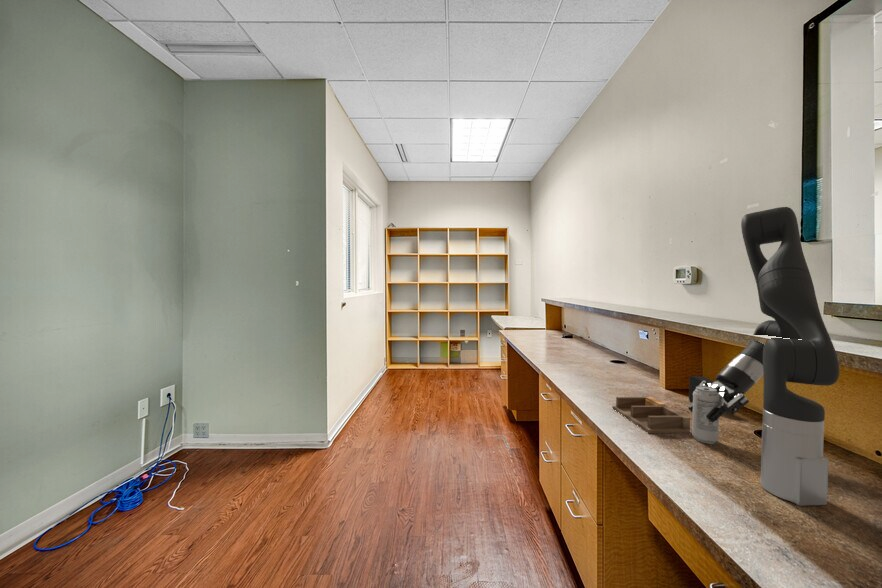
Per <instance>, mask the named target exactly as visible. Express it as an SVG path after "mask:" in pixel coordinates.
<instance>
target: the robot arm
mask: <svg viewBox="0 0 882 588" xmlns="http://www.w3.org/2000/svg"><path fill="white" fill-rule="evenodd" d="M740 227H741V234H742V239H743V243H744V246H745V251H746V253H747V257H748V261H749V264H750V268H751V271H752V274H753V275H754V279H755V280H754V281H755V283H756V288H757V294H758V299H759V300H758V301H759V308H760V311H761V313H762V314H764V315H765V316H767V317H770V318H772V319H774V320H772V319H769V320H765V321H762V322H761V323H760V324H758V326H757V327H756V328H755V330H754V332H753V334H752V336H753V335H768V336H776V337H782V338H771V339H769V340H767V341H766V343H765V345H764V344H762V343H760V342H758V341H755V340H753V339H752V340H751V339H750V341H749V343H748V345H747V346H746V347H745V348H743V350H742V351H741V352H739V354H738V355H737V356H735V357H734V358H733V359H731V361H729V362H728V364H726V365H725V367H724V368H722V369H721V371H720V372H718V373H717V374H716V376H715V378H716V380H714V381H715V382H713V383H711V384H709V383H707V382H706V381H702V382H701V383H700V385H699V386H706V387H711V388H715V389H717V393H718V394H719V402H718V404H717V408H716V407H715V408H714V409H713V410H712V411H711V412H710V413H709V414H708V415H707V416H706V417H707V419H708V420H709V421H711V422H714V421H716V420H717V419H718V418H719V419H720V417H722V415H725V414H729V415H731V416H733V415H734V414H736V413H737V412H738V411H739V410H741V409H742V408H743V407H745V406H746V405H747V404H748V403H750V400H749V399H748V398H747V397H746V395H745V394H746V393H747V392H749V391H750V390H751V388H752V387H753V386H754V385H756V383H757V382H758V381H759V380H760V379H761V378H762V377H763V392H762V394H763V401H762V402H763V403H762V404H763V405H762V406H763V407H762V425H761V427H762V428H761V429H762V431H761V454H760V456H761V457H760V459H761V460H760V486H761V487H762V488H763V489H764V490H765V491H767V492H768V493H770V494H771V495H774V496H775V497H778V498H780V499H782V500H785V501H789V502H791V503H793V504H795V505H797V506H799V507H800V506H802V507H805V506H827V504H828V487H829V485H828V484H829V483H828V482H829V462H830V460H829V459H828V458H826V457H824V439H825V438H824V433H825V420H826V419H825V417H826V416H825V415H826V411H825V407H824V406H823V405H822V404H820V403H819V402H817V401H815V400H813V399H810V398H806V397H804V396H801V395H799V394H797V393H795V392H793V391H791V390H790V389H789V388H788V387H787V383H795V384H803V385H813V386H832V385H834V384H836V383H837V381H838V379H839V376H840V363H839V357H838V354H837V352H836V349H835V345H834V344H833V340H832V339H831V337H830V334H829V331H828V329H827V327H826V324H825V322H824V320H823V317H822V314H821V311H820V307H819V303H818V299H817V295H816V291H815V287H814V282H813V279H812V276H811V275H812V274H811V272H810V270H809V267H808V263H807V262H806V258H805V254H804V252H803V247H802V242H801V236H800V235H801V234H800V229H799V223H798V219H797V216H796V213H795V211H794V210H793V209H792V208H791V207H790V206H780V207H775V208H770V209H764V210H759V211H755V212H750V213H746V214H744V215H743V216H742V218H741V225H740ZM780 242H781V243H780ZM773 243H780V245H779V247H778V248H777V250H776V251H775V253H773V255H772V256H770V258H769V259H767V257H765V256H764V254H763V251H762V249H761V245H767V244H773ZM783 338H790V339H783ZM798 339H802V340H798ZM692 395H693V394H692ZM687 408H688V410H689V412H691V413H692V414H693V402H692V403H691V402H690V404H689V406H688V407H687Z"/></svg>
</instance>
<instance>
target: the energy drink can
mask: <svg viewBox="0 0 882 588" xmlns="http://www.w3.org/2000/svg"><path fill="white" fill-rule="evenodd" d="M718 402H719V394H718V393H717V389H715V388H711V387H706V386H696V389H695V391H694V392H693V413H692V419H691V420H692V421H691V422H692V423H691V425H692V426H691V429H692V430H691V433H692V434H691V435H692V437H694V439H695V440H696V441H698V442H700V443H703V444H708V445H715V444H716V442H718V441H719V427H720V425H719V423H720V417H719V418H718V419H717V420H716V421H714V422H711V421H709V420H708V419H707V417H706V416H707V415H708V414H709V413H710V412H711V411H712V410H713V409H714V408H715V407H716V408H717V404H718Z"/></svg>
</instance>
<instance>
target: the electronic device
mask: <svg viewBox="0 0 882 588" xmlns="http://www.w3.org/2000/svg"><path fill="white" fill-rule="evenodd" d="M702 381H706V382H707V383H709V384H711V383H713V382H715V381H716V380H712V379H710V378H707V377H705V376H703V375H702V376H701V375H700V376H699V375H698V376H697V375H696V376H695V375H690V376H689V381H688V382H689V387H688V392H689V393H688V396H689V397H688V401H689V402H690V404H691V403H692V402H693V395H692V394H693V392H694V391H695V389H696V386H699V385H700V383H701V382H702Z"/></svg>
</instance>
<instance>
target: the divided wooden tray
mask: <svg viewBox="0 0 882 588" xmlns="http://www.w3.org/2000/svg"><path fill="white" fill-rule="evenodd" d="M615 399H616V401H615V405H612V408H613V409H614V410H613V409H612V408H611V409H612V410H613V411H615V410H616V411H617V412H616V411H615V412H616V413H618V412H619V413H620V414H619V413H618V414H619V415H621V414H622V415H623V416H622V415H621V416H622V417H624V416H625V417H626V418H625V417H624V418H625V419H627V420H628V419H629V420H628V421H630V422H631V421H632V422H631V423H633V424H634V423H635V424H634V425H636V426H637V425H638V426H637V427H639V428H640V427H641V428H642V429H641V428H640V429H641V430H643V431H644V430H645V431H644V432H646V433H647V432H648V434H665V433H666V434H670V433H671V434H672V433H673V434H674V433H675V434H676V433H683V434H684V433H690V432H691V417H690V416H687V415H686V414H684V413H682V412H680V411H678V410H676V409H673V408H672V407H670V406H668V405H666V403H664V402H661V401H660V400H657V399H655V397H651V396H648V395H643V396H616V398H615Z"/></svg>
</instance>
